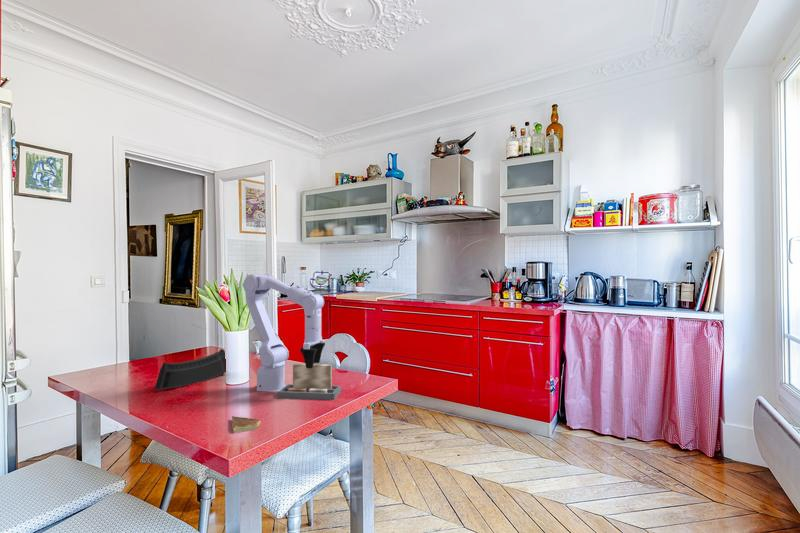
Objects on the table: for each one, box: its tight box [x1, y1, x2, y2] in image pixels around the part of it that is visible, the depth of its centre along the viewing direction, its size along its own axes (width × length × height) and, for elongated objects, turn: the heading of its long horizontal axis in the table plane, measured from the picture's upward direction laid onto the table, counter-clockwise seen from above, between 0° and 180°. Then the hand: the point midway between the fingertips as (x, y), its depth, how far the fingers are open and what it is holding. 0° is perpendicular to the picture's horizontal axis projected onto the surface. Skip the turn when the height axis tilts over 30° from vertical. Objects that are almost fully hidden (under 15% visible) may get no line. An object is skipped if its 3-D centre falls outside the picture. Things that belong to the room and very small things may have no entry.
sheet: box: [292, 363, 333, 389], centre depth 138 cm, size 14×2×10 cm, turn 84°
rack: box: [277, 383, 342, 401], centre depth 136 cm, size 20×10×3 cm, turn 84°
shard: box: [231, 415, 262, 434], centre depth 111 cm, size 11×8×2 cm
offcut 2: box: [309, 388, 327, 393], centre depth 133 cm, size 6×2×2 cm, turn 84°
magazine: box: [154, 348, 227, 391], centre depth 152 cm, size 17×3×30 cm
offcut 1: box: [288, 388, 307, 392], centre depth 134 cm, size 6×2×2 cm, turn 84°
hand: (313, 365), depth 138 cm, fingers open, 7 cm apart
